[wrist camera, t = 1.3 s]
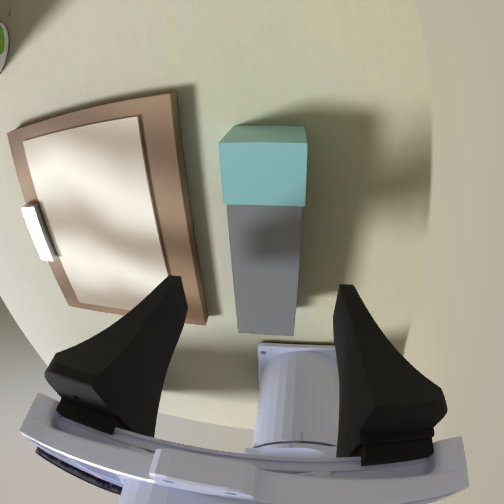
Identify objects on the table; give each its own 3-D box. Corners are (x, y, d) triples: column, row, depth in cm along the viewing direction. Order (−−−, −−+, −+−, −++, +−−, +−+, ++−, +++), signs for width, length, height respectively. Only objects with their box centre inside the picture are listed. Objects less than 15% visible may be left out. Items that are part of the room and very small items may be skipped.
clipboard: (208, 316, 25) (203, 332, 23) (74, 299, 26) (65, 311, 25) (176, 92, 15) (164, 95, 13) (15, 129, 17) (0, 136, 15)
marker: (295, 310, 23) (293, 349, 20) (245, 307, 23) (237, 345, 20) (304, 126, 15) (307, 143, 12) (234, 125, 16) (218, 142, 13)
